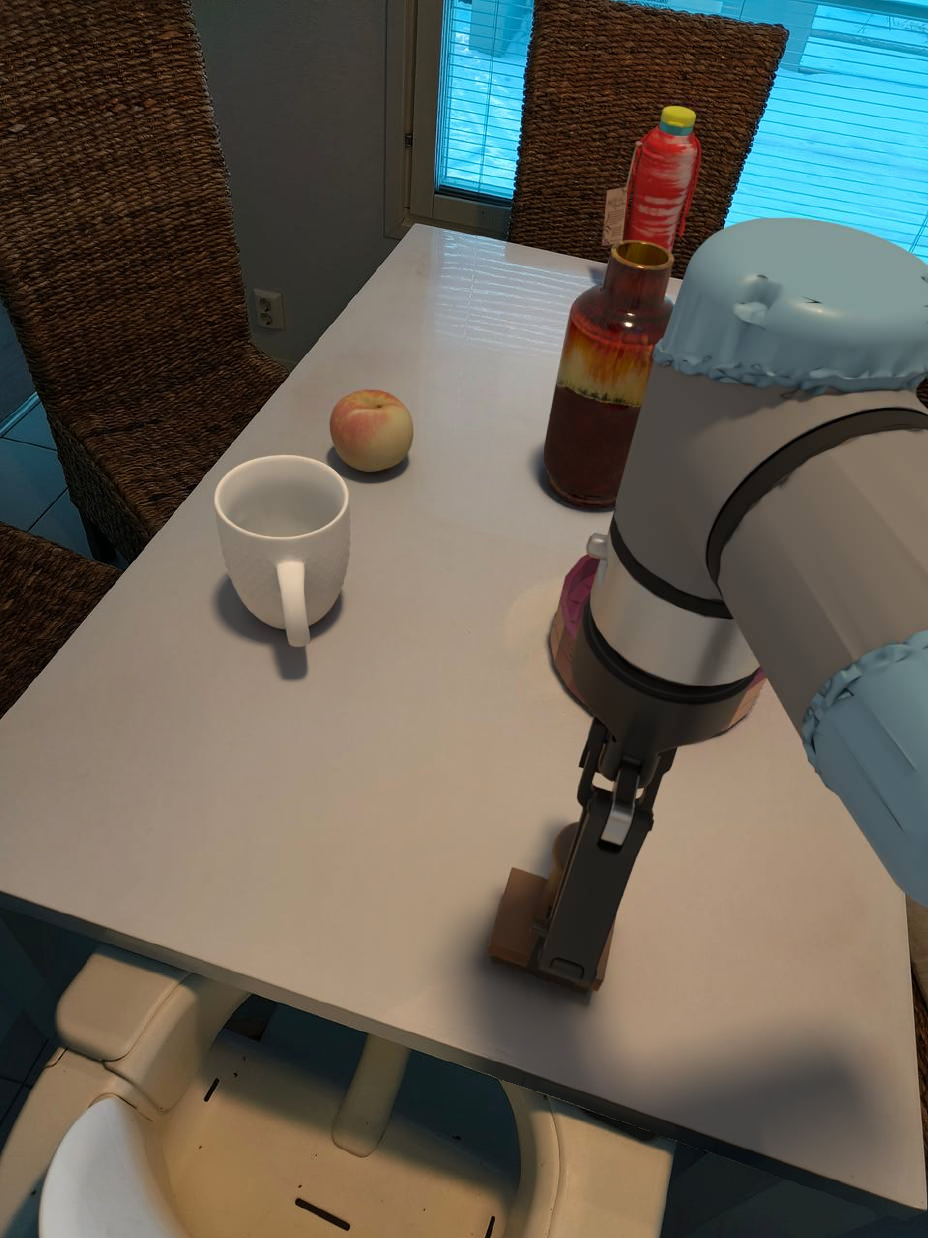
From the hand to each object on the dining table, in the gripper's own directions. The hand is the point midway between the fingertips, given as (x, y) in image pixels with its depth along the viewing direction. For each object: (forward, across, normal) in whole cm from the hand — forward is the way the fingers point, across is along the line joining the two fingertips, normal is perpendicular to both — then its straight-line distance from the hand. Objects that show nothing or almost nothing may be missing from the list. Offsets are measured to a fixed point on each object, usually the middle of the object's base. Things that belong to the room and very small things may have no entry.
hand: (577, 860), depth 51 cm
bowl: (+12, -29, +3) cm, 32 cm away
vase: (+13, -52, -8) cm, 55 cm away
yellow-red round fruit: (+13, -46, -31) cm, 57 cm away
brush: (+12, 0, 0) cm, 12 cm away
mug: (+13, -22, -30) cm, 39 cm away
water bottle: (+13, -102, -12) cm, 103 cm away
